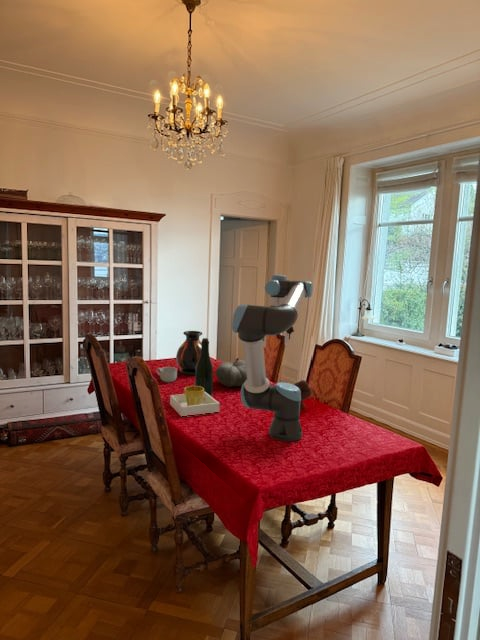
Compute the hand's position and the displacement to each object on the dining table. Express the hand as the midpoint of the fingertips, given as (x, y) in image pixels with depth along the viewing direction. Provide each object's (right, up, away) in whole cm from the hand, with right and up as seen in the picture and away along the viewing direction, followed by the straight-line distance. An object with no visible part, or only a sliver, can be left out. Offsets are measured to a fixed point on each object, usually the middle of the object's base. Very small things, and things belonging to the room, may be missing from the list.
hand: (275, 346), depth 228 cm
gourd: (-22, -27, +50) cm, 61 cm away
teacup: (-65, -25, +52) cm, 87 cm away
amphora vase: (-51, -23, +74) cm, 93 cm away
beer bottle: (-39, -30, +27) cm, 56 cm away
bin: (-42, -33, +4) cm, 53 cm away
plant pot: (-42, -32, +3) cm, 53 cm away
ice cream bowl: (+15, -34, +14) cm, 40 cm away
